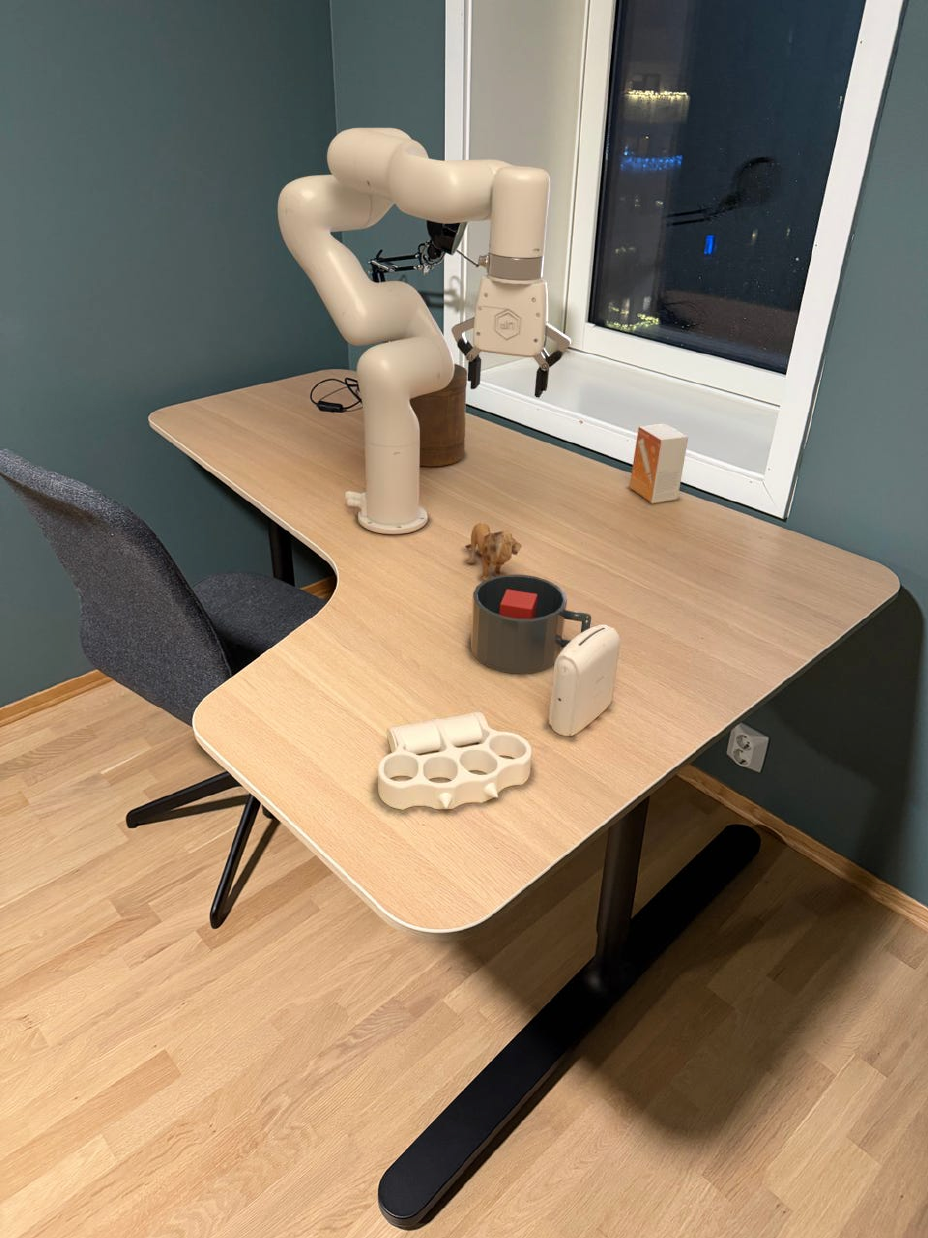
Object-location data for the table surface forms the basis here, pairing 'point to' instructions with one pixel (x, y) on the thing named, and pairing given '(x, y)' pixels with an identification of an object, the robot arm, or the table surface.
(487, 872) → the table surface
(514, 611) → the red block
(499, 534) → the lion figurine
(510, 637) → the dark gray mug
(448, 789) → the knuckle duster
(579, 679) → the photo printer
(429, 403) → the wooden container
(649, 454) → the small box
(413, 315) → the robot arm
